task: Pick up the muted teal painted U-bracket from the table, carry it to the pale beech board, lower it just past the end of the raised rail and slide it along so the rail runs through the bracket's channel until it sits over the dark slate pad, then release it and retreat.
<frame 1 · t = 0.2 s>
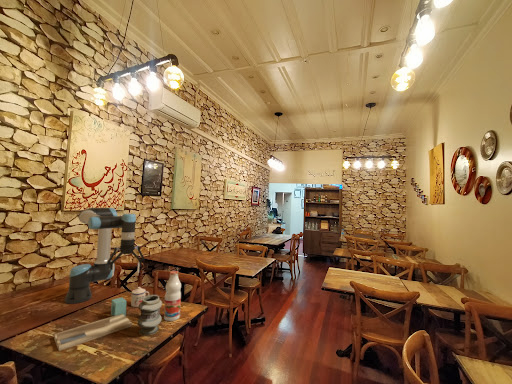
hand: (125, 273, 144), 26 cm above the table, fingers open, 13 cm apart
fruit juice: (171, 318, 144), on the table
bracket: (118, 315, 145), on the table
teacup with lid: (140, 304, 162), on the table
board: (94, 331, 126), on the table
apothecary jar: (149, 331, 129), on the table
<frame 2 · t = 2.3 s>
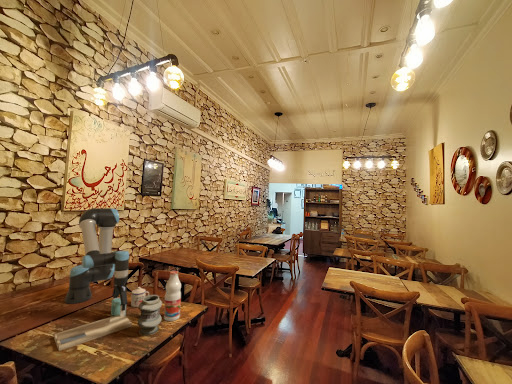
hand: (118, 312, 145), 2 cm above the table, fingers open, 12 cm apart
nothing on the table moved.
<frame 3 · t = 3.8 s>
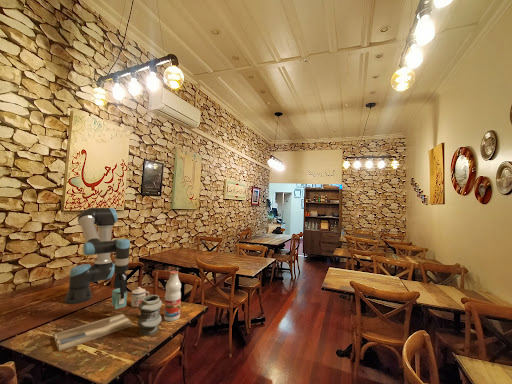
hand: (119, 301, 146), 8 cm above the table, fingers closed on bracket, 7 cm apart
bracket: (118, 305, 146), point 6 cm above the table, touching gripper
everything else where it was.
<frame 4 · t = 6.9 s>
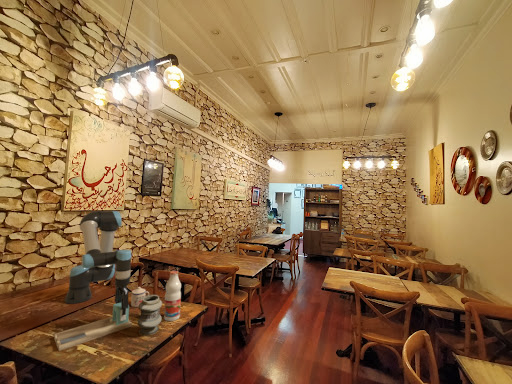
hand: (120, 317, 135), 4 cm above the table, fingers closed on bracket, 8 cm apart
bracket: (120, 320, 135), point 2 cm above the table, touching board, gripper
everything else where it was.
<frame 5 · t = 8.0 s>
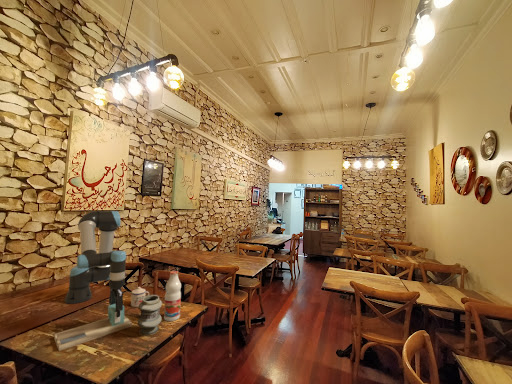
hand: (114, 319, 133), 4 cm above the table, fingers closed on bracket, 7 cm apart
bracket: (116, 321, 133), point 2 cm above the table, touching gripper
everything else where it was.
when the fingers open (3 cm above the table, at t = 13.2 s): bracket stays where it is, resting on board.
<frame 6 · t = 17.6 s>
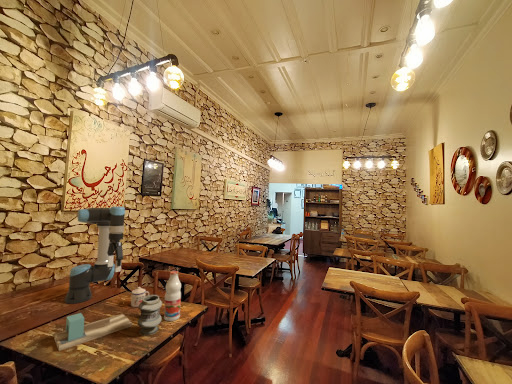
hand: (114, 269, 138), 31 cm above the table, fingers open, 13 cm apart
bracket: (74, 335, 119), point 2 cm above the table, touching board
everything else where it was.
at the end: bracket inside the target area (0.8 cm from its centre), point 2.0 cm above the table; bracket tilted 0°; the gripper is holding nothing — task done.
